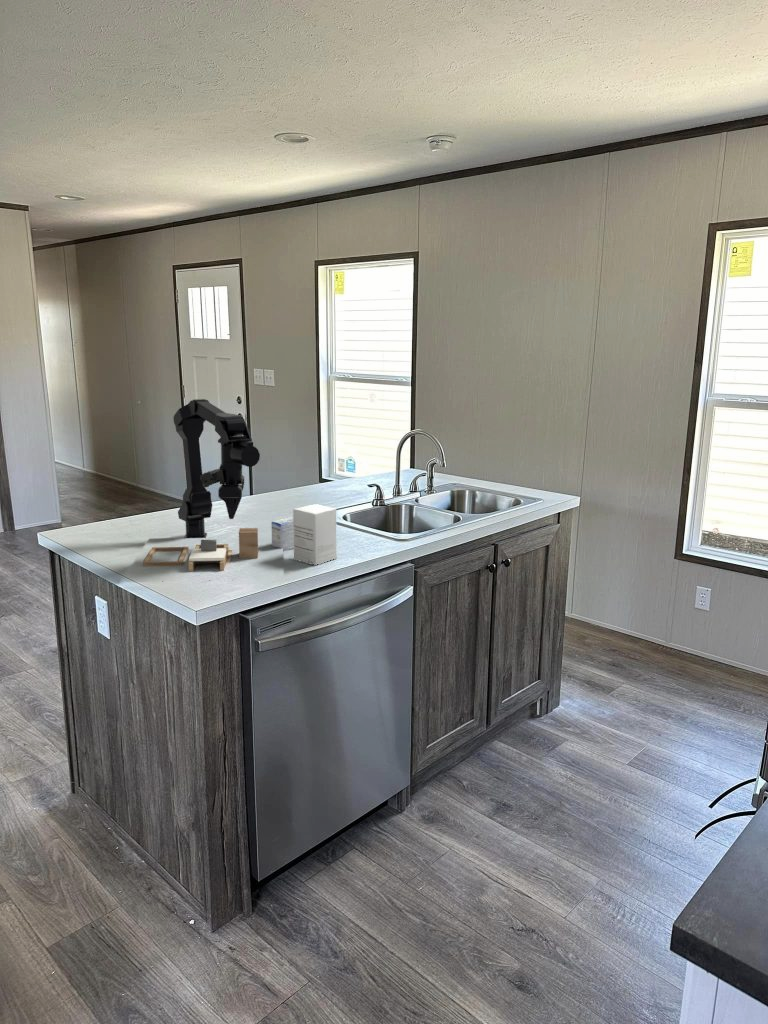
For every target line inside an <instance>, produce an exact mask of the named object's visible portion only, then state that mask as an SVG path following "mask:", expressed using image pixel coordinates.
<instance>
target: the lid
mask: <svg viewBox="0 0 768 1024" xmlns="http://www.w3.org/2000/svg"><path fill="white" fill-rule="evenodd" d="M217 544H218V543H217V539H201V541H200V545H201V549H195V548H192V549H191V553H190V554H189V558H188V562H189V561H224V559H225V555H226V548H217Z"/></svg>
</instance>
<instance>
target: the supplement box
mask: <svg viewBox="0 0 768 1024" xmlns="http://www.w3.org/2000/svg"><path fill="white" fill-rule="evenodd" d="M292 518H293V533H294V548H293V560H294V559H295V561H297V560H300V561H299V562H301V561H303V562H302V563H304V562H307V563H306V564H308V563H311V564H310V565H312V564H314V565H313V566H315V565H316V566H318V565H317V564H319V565H321V563H322V564H325V563H327V561H328V562H331V561H334V560H336V559H337V558H338V556H337V555H338V554H337V552H338V550H337V548H338V547H337V546H338V543H337V542H338V541H337V539H338V538H337V535H338V534H337V529H338V528H337V508H335V507H331V506H326V505H325V506H324V505H321V504H317V503H316V504H314V503H313V504H310V505H305V506H301V507H296V508H293V509H292ZM333 559H334V560H333ZM330 560H331V561H330ZM324 562H325V563H324Z"/></svg>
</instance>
